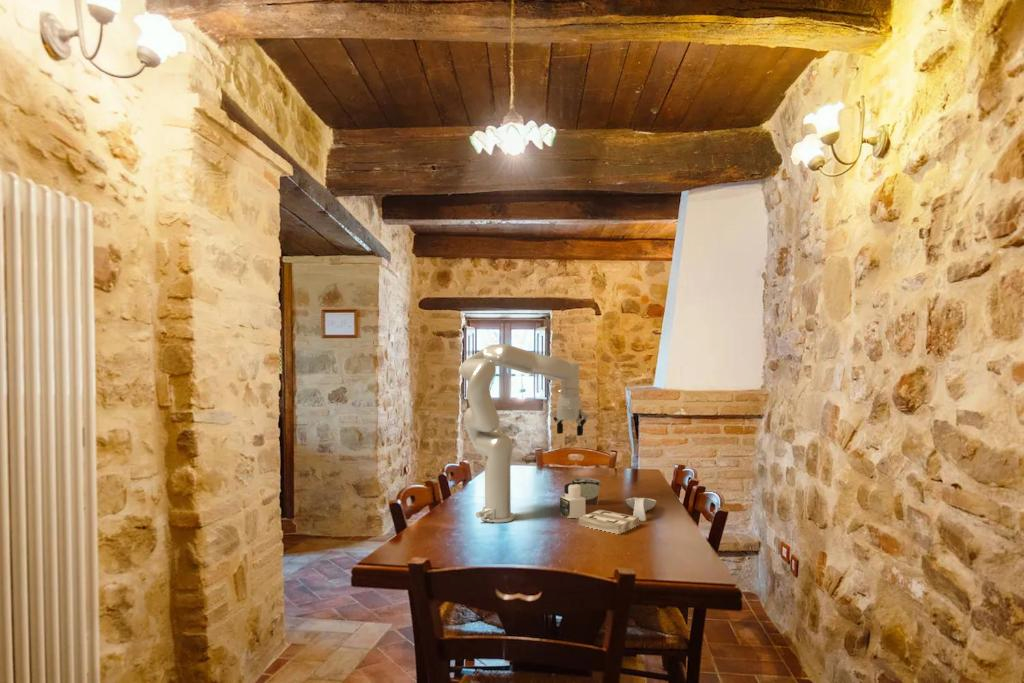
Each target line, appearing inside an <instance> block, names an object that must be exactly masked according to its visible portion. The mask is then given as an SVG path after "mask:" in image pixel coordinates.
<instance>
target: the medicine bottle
mask: <svg viewBox="0 0 1024 683" xmlns="http://www.w3.org/2000/svg"><path fill="white" fill-rule="evenodd" d="M580 495H581V486H580V485H579V484H577V483H571V482H570V483H569V482H568V483H566V484H564V495H560V496H559V515H560V514H561V515H560V516H562V515H563V516H562V517H564V516H565V517H564V518H566V517H567V518H566V519H568V518H576V519H579V518H578V517H581V516H584V515H586V514H587V513H586V507H587V506H585V498H584V497H581V496H580Z"/></svg>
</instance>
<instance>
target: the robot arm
mask: <svg viewBox="0 0 1024 683" xmlns="http://www.w3.org/2000/svg"><path fill="white" fill-rule="evenodd" d="M496 367H503V368H506V369H511V370H514V371H518V372H520V373H524V374H530V375H542V376H543V377H544V378H545V379H546V380H549V381H560V389H558V393H559V394H560V395H559V396H558V399H557V406H556V410H555V411H553V412H552V413H551V416H552V417H553V420H554V422H555V424H556V433H557V435H558V434H559V435H560V434H563V433H564V424H563V422H564V421H568V422H569V421H571V422H574V421H575V422H576V424H577V426H576V435H577V436H579V437H581V436H583V434H584V426H585V424H586V423H587V422H588V419H589V414H587V413H586V412H585V411H583V403H582V398H581V396H580V365H579V363H578V362H569V361H567V360H565V359H564V360H563V359H562V358H558V357H555V356H554V357H553V356H551V355H545V354H542V353H538V352H533V351H528V350H526V349H522V348H519V347H516V346H512V345H510V344H506V343H501V344H500V343H499V344H498V343H497V344H491V345H488V346H486V347H485V348H483V349H481V350H478V352H477V353H475V354H473V355H471V356H469V357H468V358H466V359H465V360H464V361H463V362H462V364H461V365H460V369H459V370H460V375H461V377H462V378H463V379H464V380H466V381H468V384H467V387H466V388H467V389H466V399H467V402H468V406H469V407H468V408H467V409H466V410H465V412H464V413H463V424H464V428H465V430H466V432H467V435H468V437H469V440H470V441H471V444H472V447H473V448H474V451H476V453H478V454H479V455H482V456H485V457H487V460H486V463H485V466H484V467H485V468H484V506H483V508H482V510H481V511H477V512H475V517H476V518H480V519H481V521H484V522H487V523H492V522H494V523H495V524H496V523H497V524H501V523H508V522H511V521H514V520H515V518H516V517H515V516H516V515H515V514H514V513H512V512H511V463H512V455H513V450H514V445H513V444H514V443H513V441H512V439H511V438H510V437H509V436H508V435H507V434H506V433H503V432H500V431H499V432H498V431H497V430H498V429H499V428H500V423H501V422H500V417H499V414H498V412H497V409H496V406H495V403H494V401H493V399H492V396H491V392H490V388H491V387H490V386H491V384H492V381H493V378H494V377H495V375H496ZM494 523H493V524H494Z"/></svg>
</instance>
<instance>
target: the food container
mask: <svg viewBox="0 0 1024 683" xmlns="http://www.w3.org/2000/svg"><path fill="white" fill-rule="evenodd" d="M570 483H577V484H579V485H580V486H581V495H580V496H581V497H584V498H585V505H598V504H599V495H600V494H599V493H600V487H602V483H601V480H599V479H596V478H594V477H593V478H591V477H579V478H578V477H576V478H573V479H571V481H570ZM598 506H599V505H598Z"/></svg>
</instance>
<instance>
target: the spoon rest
mask: <svg viewBox="0 0 1024 683" xmlns="http://www.w3.org/2000/svg"><path fill="white" fill-rule="evenodd" d="M625 502H626V504H627V505H628V506H629V507H630V508H631V509H632V510H633V509H634V510H633V511H632V513H633V514H632V516H636V517H639V520H640V521H639V522H646V521H647V516H646V512H648V511H647V510H649V511H650V510H651V509H653V508H654V507H655V506H656V504H657V500H656V499H653V498H647V497H629V498H626V499H625Z"/></svg>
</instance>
